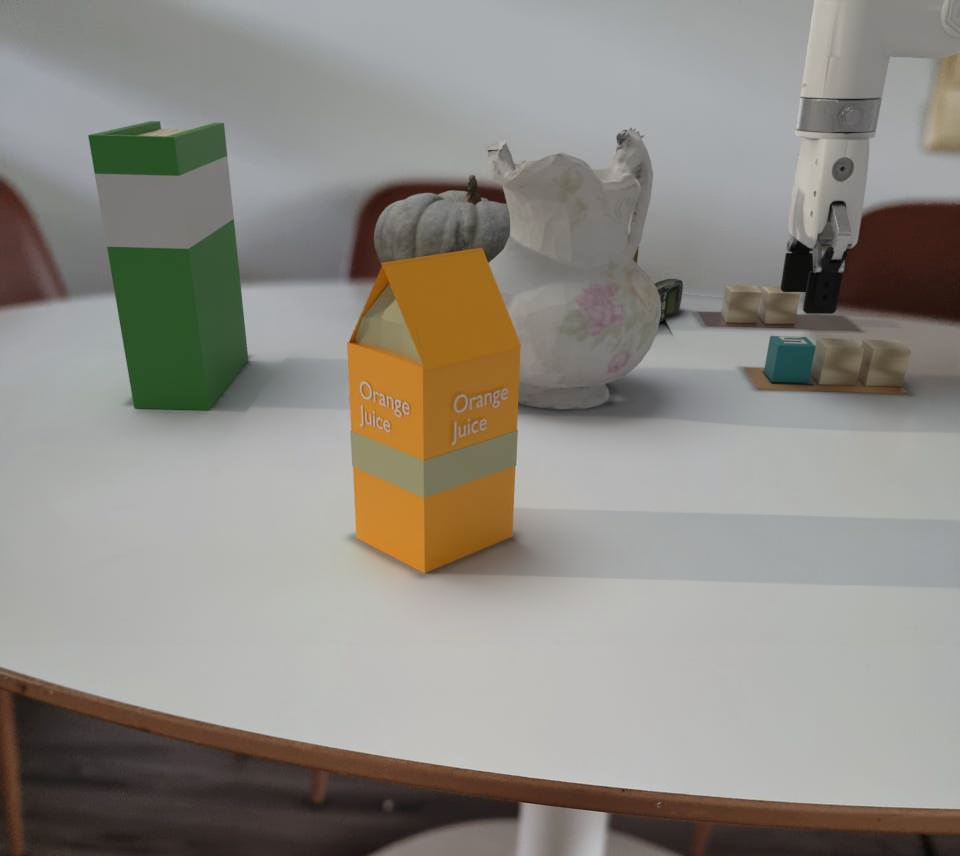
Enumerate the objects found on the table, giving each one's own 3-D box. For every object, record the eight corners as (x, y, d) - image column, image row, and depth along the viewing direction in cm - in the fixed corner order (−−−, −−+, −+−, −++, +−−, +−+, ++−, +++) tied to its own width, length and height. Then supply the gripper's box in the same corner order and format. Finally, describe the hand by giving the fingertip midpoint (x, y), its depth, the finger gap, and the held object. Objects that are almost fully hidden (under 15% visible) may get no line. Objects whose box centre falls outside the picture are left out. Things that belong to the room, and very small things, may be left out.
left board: (841, 320, 134) (848, 285, 132) (859, 334, 127) (867, 298, 125) (695, 316, 134) (700, 281, 132) (705, 330, 127) (710, 294, 125)
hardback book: (183, 358, 111) (151, 121, 99) (248, 360, 111) (223, 122, 99) (134, 408, 96) (88, 135, 84) (209, 410, 96) (174, 137, 83)
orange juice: (354, 542, 71) (340, 253, 61) (443, 510, 77) (444, 239, 66) (425, 580, 67) (423, 273, 56) (515, 542, 72) (528, 256, 62)
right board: (883, 376, 111) (892, 335, 109) (907, 398, 104) (918, 355, 102) (742, 372, 111) (749, 331, 109) (757, 393, 104) (765, 350, 102)
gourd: (355, 304, 124) (367, 154, 117) (380, 296, 147) (391, 170, 140) (549, 332, 124) (572, 184, 118) (544, 319, 147) (562, 195, 141)
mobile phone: (646, 296, 122) (691, 274, 133) (625, 293, 124) (671, 271, 134) (643, 336, 125) (687, 311, 136) (621, 332, 126) (667, 308, 137)
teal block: (799, 372, 109) (806, 335, 107) (808, 383, 106) (816, 345, 104) (763, 371, 109) (770, 334, 107) (771, 382, 106) (778, 344, 104)
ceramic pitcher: (535, 366, 115) (531, 129, 103) (693, 381, 106) (708, 123, 94) (436, 416, 100) (416, 143, 87) (611, 439, 90) (616, 138, 78)
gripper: (906, 126, 87) (867, 322, 96) (849, 113, 102) (820, 284, 111) (821, 126, 87) (790, 322, 96) (777, 113, 102) (753, 284, 111)
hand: (806, 301), depth 103 cm, fingers open, 9 cm apart
